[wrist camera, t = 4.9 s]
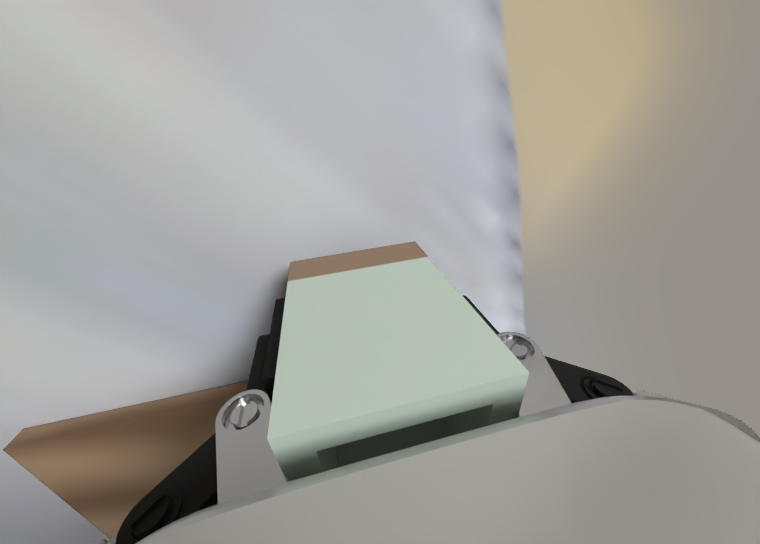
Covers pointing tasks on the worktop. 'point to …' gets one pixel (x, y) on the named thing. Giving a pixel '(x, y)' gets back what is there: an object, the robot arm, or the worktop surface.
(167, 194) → the worktop surface
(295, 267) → the sleeve
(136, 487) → the pin board
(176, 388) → the worktop surface
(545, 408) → the robot arm
